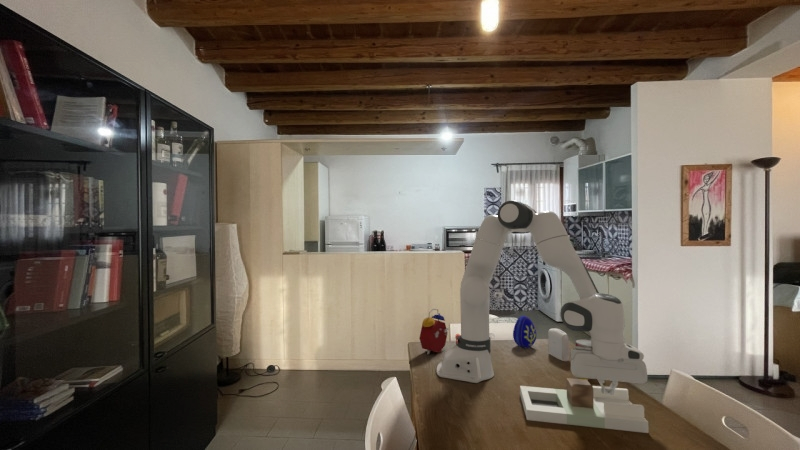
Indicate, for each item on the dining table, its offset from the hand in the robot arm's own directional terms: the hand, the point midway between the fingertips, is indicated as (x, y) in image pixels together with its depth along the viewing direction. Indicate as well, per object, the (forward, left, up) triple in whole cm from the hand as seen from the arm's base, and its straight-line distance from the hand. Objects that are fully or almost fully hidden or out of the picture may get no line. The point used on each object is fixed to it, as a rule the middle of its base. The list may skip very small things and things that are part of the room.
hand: (607, 393), depth 103 cm
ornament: (-16, +58, -7) cm, 61 cm away
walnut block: (-8, 0, -4) cm, 9 cm away
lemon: (0, +23, -7) cm, 24 cm away
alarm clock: (-57, +43, -7) cm, 72 cm away
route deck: (-8, 0, -7) cm, 11 cm away
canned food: (+5, +35, -7) cm, 36 cm away
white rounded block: (-3, +47, -7) cm, 48 cm away
